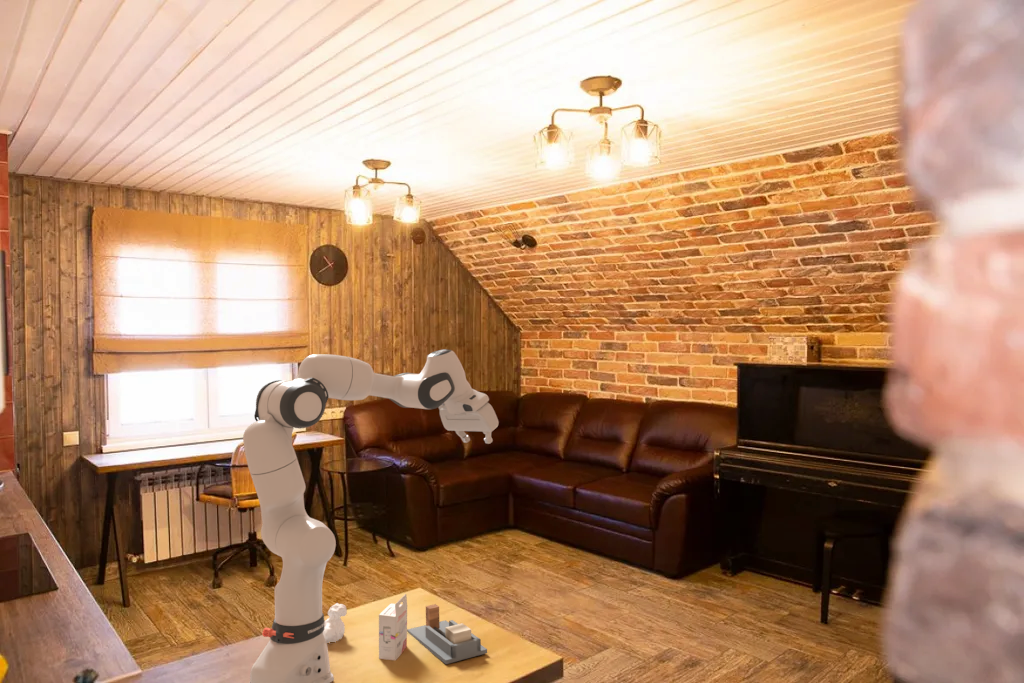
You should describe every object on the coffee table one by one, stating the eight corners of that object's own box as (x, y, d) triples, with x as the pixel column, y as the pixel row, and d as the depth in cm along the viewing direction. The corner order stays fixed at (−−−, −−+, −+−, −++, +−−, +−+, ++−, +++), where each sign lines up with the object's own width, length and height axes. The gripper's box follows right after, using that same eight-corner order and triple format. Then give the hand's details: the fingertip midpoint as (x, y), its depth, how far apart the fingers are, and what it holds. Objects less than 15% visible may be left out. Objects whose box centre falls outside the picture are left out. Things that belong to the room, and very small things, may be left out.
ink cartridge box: (389, 646, 198) (390, 591, 198) (407, 648, 197) (408, 593, 197) (377, 659, 190) (378, 602, 190) (395, 662, 189) (396, 604, 189)
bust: (328, 658, 197) (355, 625, 197) (305, 641, 196) (332, 608, 197) (336, 639, 209) (361, 608, 209) (315, 623, 208) (340, 592, 209)
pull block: (471, 648, 193) (471, 625, 193) (454, 653, 190) (454, 629, 190) (438, 624, 209) (438, 603, 209) (422, 628, 207) (422, 607, 207)
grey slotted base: (487, 652, 193) (486, 637, 193) (445, 664, 187) (445, 648, 187) (445, 623, 214) (445, 609, 214) (407, 633, 207) (406, 618, 207)
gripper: (429, 406, 217) (447, 446, 221) (477, 406, 203) (495, 449, 207) (443, 395, 221) (460, 435, 225) (491, 394, 207) (509, 437, 211)
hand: (478, 442), depth 216 cm, fingers open, 8 cm apart
